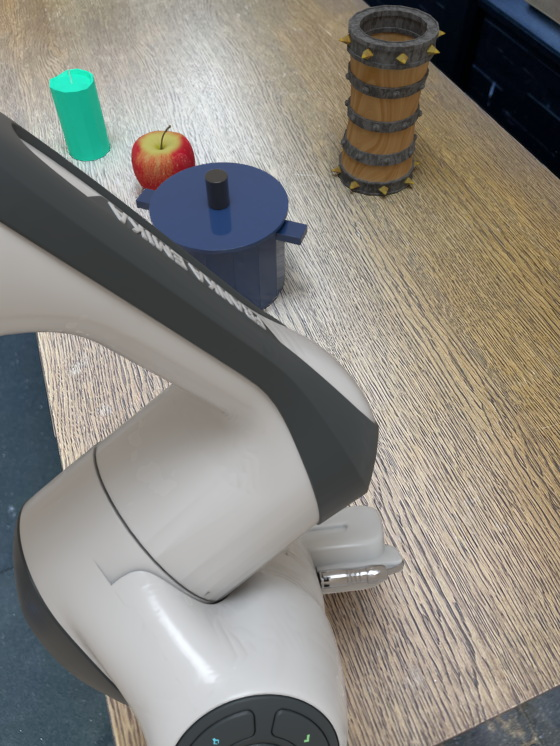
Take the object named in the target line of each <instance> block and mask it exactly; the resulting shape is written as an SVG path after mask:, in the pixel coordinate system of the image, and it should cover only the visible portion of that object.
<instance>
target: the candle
mask: <svg viewBox="0 0 560 746" xmlns="http://www.w3.org/2000/svg"><path fill="white" fill-rule="evenodd" d="M48 84H49V86H48V87H49V91H50V94H51V97H52V100H53V101H52V102H53V104H54V108H55V111H56V114H57V117H58V120H59V124H60V127H61V130H62V133H63V137H64V140H65V144H66V147H67V150H68V154H69V156H70V157H72V158H73V160H77V161H81V162H90V161H96V160H99V159H101V158H103V157H105V156H107V154H108V153H109V152H110V150H111V143H110V139H109V135H108V131H107V126H106V123H105V118H104V115H103V110H102V106H101V103H100V102H101V101H100V98H99V94H98V90H97V85H96V81H95V78H94V74H93V73H92V72H90V71H89V70H86V69H81V68H72V69H71V68H70V69H69V68H67V69H65V70H63V71H62V72H61V73H59V74H58V75H56V76H54V77H51V78H49V83H48Z"/></svg>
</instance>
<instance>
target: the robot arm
mask: <svg viewBox="0 0 560 746" xmlns="http://www.w3.org/2000/svg"><path fill="white" fill-rule="evenodd" d="M29 333H56V334H64V335H71V336H76V337H79V338H83V339H86V340H89V341H91V342H94V343H96V344H98V345H100V346H101V347H103V348H106V349H107V350H109V351H111V352H113V353H115V354H117V355H118V356H120V357H122V358H124V359H125V360H127V361H129V362H131V363H133V364H134V365H137V366H139V367H140V368H142V369H144V370H146V371H148V372H150V373H151V374H153V375H155V376H157V377H159V378H161V379H162V380H164V381H165V382H168V383H170V384H169V385H168V386H167V387H166V388H165V389H163V390H162V391H161V392H160V393H158V395H156V396H155V397H154V398H152V399H151V400H150V401H149V402H148V403H147V404H145V405H144V406H143V407H142V408H140V409H139V410H137V412H135V413H134V414H133V415H132V416H130V417H129V418H128V419H127V420H125V421H124V422H123V423H122V424H120V425H119V426H118V427H117V428H116V429H115V430H113V431H112V432H111V433H110V434H108V435H107V436H106V437H104V438H103V439H102V440H99V441H98V442H97V443H96V444H94V445H92V446H91V447H90V448H89V449H88V450H87V451H86V452H84V453H82V454H81V455H80V456H79V457H78V458H77V459H75V460H74V461H73V462H71V463H70V464H69V465H68V466H66V468H65V469H63V470H62V471H61V472H59V474H57V475H56V476H55V477H54V478H52V479H51V480H50V481H49V482H48V483H46V484H45V485H44V486H43V487H42V488H40V489H39V490H38V491H37V492H36V493H34V494H33V495H32V496H31V497H30V498H28V499H26V500H25V501H24V502H23V504H22V505H21V506H20V509H19V512H18V514H17V518H16V522H15V526H14V532H13V540H12V564H13V576H14V582H15V589H16V594H17V600H18V604H19V607H20V610H21V613H22V616H23V618H24V620H25V622H26V624H27V625H28V627H29V629H30V631H32V634H34V636H35V638H37V640H38V642H39V643H41V645H42V646H43V647H44V649H45V650H46V651H47V652H48V653H49V654H50V656H52V658H53V659H54V660H55V661H56V662H57V663H59V665H61V667H63V668H64V669H65V670H66V671H67V672H69V673H70V674H71V675H73V676H74V677H75V678H76V679H77V680H79V681H81V682H82V683H84V684H86V685H87V686H88V687H89V688H90V687H91V688H92V689H94V690H95V691H97V692H99V693H101V694H103V695H105V696H107V697H109V698H110V699H113V700H114V701H117V702H118V703H121V704H123V705H125V706H128V707H129V708H130V710H131V711H132V713H133V715H134V718H135V719H136V721H137V723H138V725H139V727H140V730H141V732H142V735H143V738H144V740H145V743H146V746H348V736H349V710H348V700H347V690H346V684H345V676H344V671H343V665H342V660H341V658H340V653H339V648H338V643H337V640H336V636H335V633H334V631H333V627H332V625H331V622H330V619H329V617H328V616H327V614H326V605H325V604H326V603H325V599H324V595H330V594H339V593H340V594H341V593H348V592H354V591H355V592H356V591H362V590H368V589H373V588H376V587H378V586H380V585H381V584H382V583H383V582H385V581H387V580H388V576H391V575H394V574H397V573H402V572H403V570H404V567H405V561H404V559H403V555H402V554H401V553H400V551H399V550H398V548H397V547H396V546H393V545H391V544H387V543H386V542H385V531H384V525H383V520H382V518H381V515H380V512H379V511H378V509H376V507H375V508H374V507H371V506H368V505H359V504H358V505H352V506H351V504H352V503H354V502H356V501H357V500H359V499H360V498H361V497H363V496H364V495H366V494H367V493H368V492H369V488H370V485H371V481H372V477H373V473H374V469H375V464H376V460H377V454H378V446H379V436H380V425H379V423H378V422H377V421H376V419H375V415H374V412H373V410H372V407H371V405H370V402H369V401H368V399H367V397H366V394H365V393H364V391H363V390H362V388H361V386H359V384H358V383H357V381H356V380H355V379H354V378H353V376H352V375H351V374H350V373H349V371H348V370H347V369H346V368H345V367H344V365H342V364H341V363H340V362H339V360H337V359H336V358H335V357H334V356H333V355H332V354H331V353H330V352H328V351H327V350H326V349H325V348H324V347H323V346H321V345H320V344H318V343H317V342H315V341H314V340H312V339H310V338H309V337H307V336H305V335H303V334H302V333H300V332H298V331H296V330H293V329H291V328H290V327H288V326H287V325H286V324H284V323H283V322H281V321H280V320H279V319H277V318H275V317H274V316H272V315H271V314H270V313H268V312H267V311H265V310H264V309H263V310H262V309H260V308H259V307H257V306H256V305H254V304H253V303H252V302H250V301H249V300H248V299H246V298H245V297H244V296H242V295H241V294H240V293H238V292H237V291H236V290H235V289H233V288H232V287H231V286H229V285H228V284H227V283H226V282H224V281H223V280H222V279H221V278H219V277H218V276H217V275H215V274H214V273H213V272H212V271H210V270H209V269H208V268H207V267H205V266H204V265H203V264H201V263H200V262H199V261H198V260H196V259H195V258H194V257H193V256H191V255H190V254H189V253H187V252H186V251H185V250H184V249H182V248H181V247H180V246H179V245H177V244H176V243H175V242H174V241H172V240H171V239H170V238H168V237H167V236H166V235H165V234H163V233H162V232H161V231H160V230H158V229H157V228H156V227H154V226H153V225H152V222H149V221H148V220H147V219H145V218H144V217H143V216H142V215H141V214H139V213H138V212H137V211H135V209H133V208H132V207H131V206H129V205H128V204H126V203H125V202H124V201H123V200H121V199H120V198H119V197H117V196H116V195H114V193H112V192H111V191H109V189H107V188H106V187H104V186H103V185H102V184H100V183H99V182H98V181H96V179H94V178H92V176H90V175H89V174H87V173H86V172H85V171H83V170H81V169H80V168H79V167H78V166H77V165H75V164H74V163H73V162H71V161H69V159H67V158H66V157H65V156H63V155H62V154H60V153H59V152H58V151H56V150H55V149H54V148H52V147H51V146H49V145H47V144H46V143H45V142H43V141H42V140H41V139H39V138H38V137H37V136H35V135H34V134H33V133H31V132H30V131H28V130H27V129H26V128H24V127H23V126H22V125H20V124H19V123H17V122H16V121H14V120H13V119H12V118H10V117H9V116H7V115H6V114H4V113H3V112H2V111H0V337H2V336H3V337H4V336H9V335H10V336H11V335H18V334H19V335H21V334H29Z"/></svg>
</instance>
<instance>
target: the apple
mask: <svg viewBox="0 0 560 746" xmlns="http://www.w3.org/2000/svg"><path fill="white" fill-rule="evenodd" d="M170 128H172V125H171V124H169V125H168V126H167V127H166V128H165V130H153V131H149V132H147V133H145V134H143V135H141V136H140V137H138V138H137V139H136V140H135V142H134V143H133V145H132V147H131V154H130V161H131V167H132V170H133V174H134V176H135V178H136V180H137V182H138V183H139V185H140V186H141V187H142V189H143V190H144V189H145V188H147V189H151V190H156V189H157V188H158V187H159V186H160V185H161V184H162V183H163V182H164V181H165V180H166V179H168V178H169V177H171V176H172V175H174V174H176V173H178V172H180V171H182V170H185V169H187V168H190V167H193V166H196V157H195V152H194V149H193V146H192V144H191V142H190V141H189V139H188V138H187V137H186V136H185V135H184V134H183V133H181V132H177V131H171V130H170Z"/></svg>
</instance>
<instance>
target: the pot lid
mask: <svg viewBox="0 0 560 746" xmlns="http://www.w3.org/2000/svg"><path fill="white" fill-rule="evenodd" d="M289 201H290V200H289V196H288V193H287V191H286V189H285V187H284V186H283V184H282V183H281V181H279V180H278V178H276V177H275V176H273V175H272V174H270V173H269V172H267V171H265V170H263V169H261V168H259V167H256V166H253V165H249V164H245V163H240V162H230V161H229V162H228V161H219V162H209V163H208V162H207V163H202V164H197V165H195V166H193V167H190V168H187V169H185V170H182V171H180V172H178V173H176V174H174V175H172V176H171V177H169V178H168V179H166V180H165V181H164V182H163V183H162V184H161V185H160V186H159V187H158V188H157V189H156V191H155V192H154V194H153V196H152V198H151V200H150V205H149V210H148V214H149V219H150V223H151V224H152V225H153V226H154V227H156V228H157V229H158V230H160V231H161V232H162V233H163V234H165V235H166V236H167V237H168V238H170V239H171V240H172V241H174V242H175V243H176V244H177V245H179V246H180V247H181V248H182V249H185V250H189V251H193V252H198V253H207V254H222V253H231V252H237V251H241V250H245V249H248V248H251V247H253V246H256V245H258V244H260V243H262V242H264V241H265V240H267V239H268V238H270V237H271V236H272V235H274V234H275V233H276V232H277V231H278V230H279V229H280V228H281V226H282V225H283V223H284V222H285V220H287V217H288V214H289Z"/></svg>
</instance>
